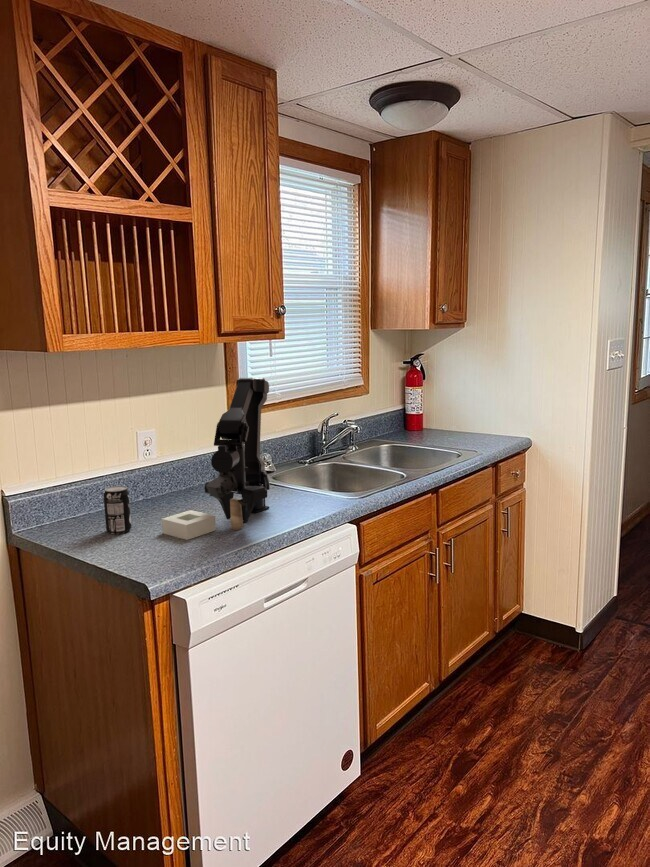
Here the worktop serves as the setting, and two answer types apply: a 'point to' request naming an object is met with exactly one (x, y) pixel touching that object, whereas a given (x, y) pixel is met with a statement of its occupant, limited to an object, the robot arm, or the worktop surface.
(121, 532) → the beverage can
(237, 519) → the peg
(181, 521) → the socket
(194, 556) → the worktop surface
